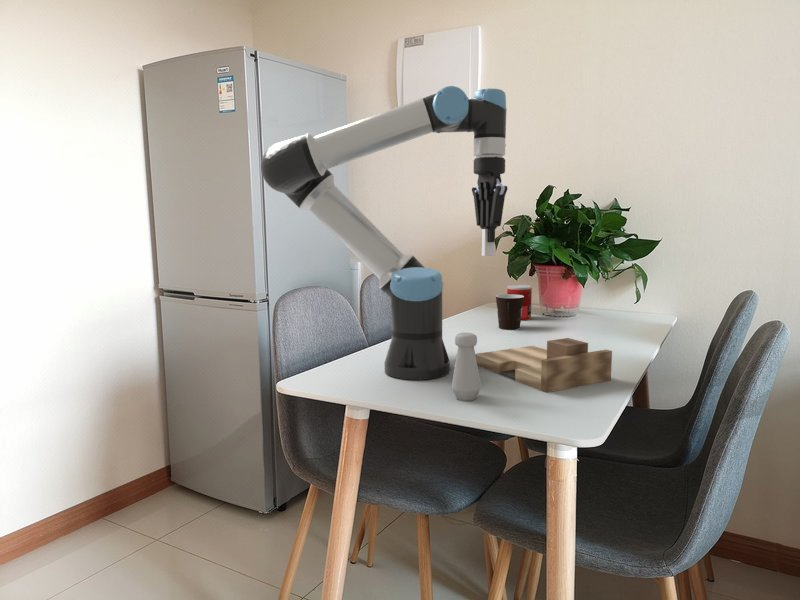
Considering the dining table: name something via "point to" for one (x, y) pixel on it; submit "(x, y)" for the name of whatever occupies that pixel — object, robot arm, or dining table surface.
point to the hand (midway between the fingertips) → (488, 255)
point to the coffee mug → (509, 311)
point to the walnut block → (565, 347)
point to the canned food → (527, 293)
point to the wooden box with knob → (548, 367)
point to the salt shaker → (466, 368)
